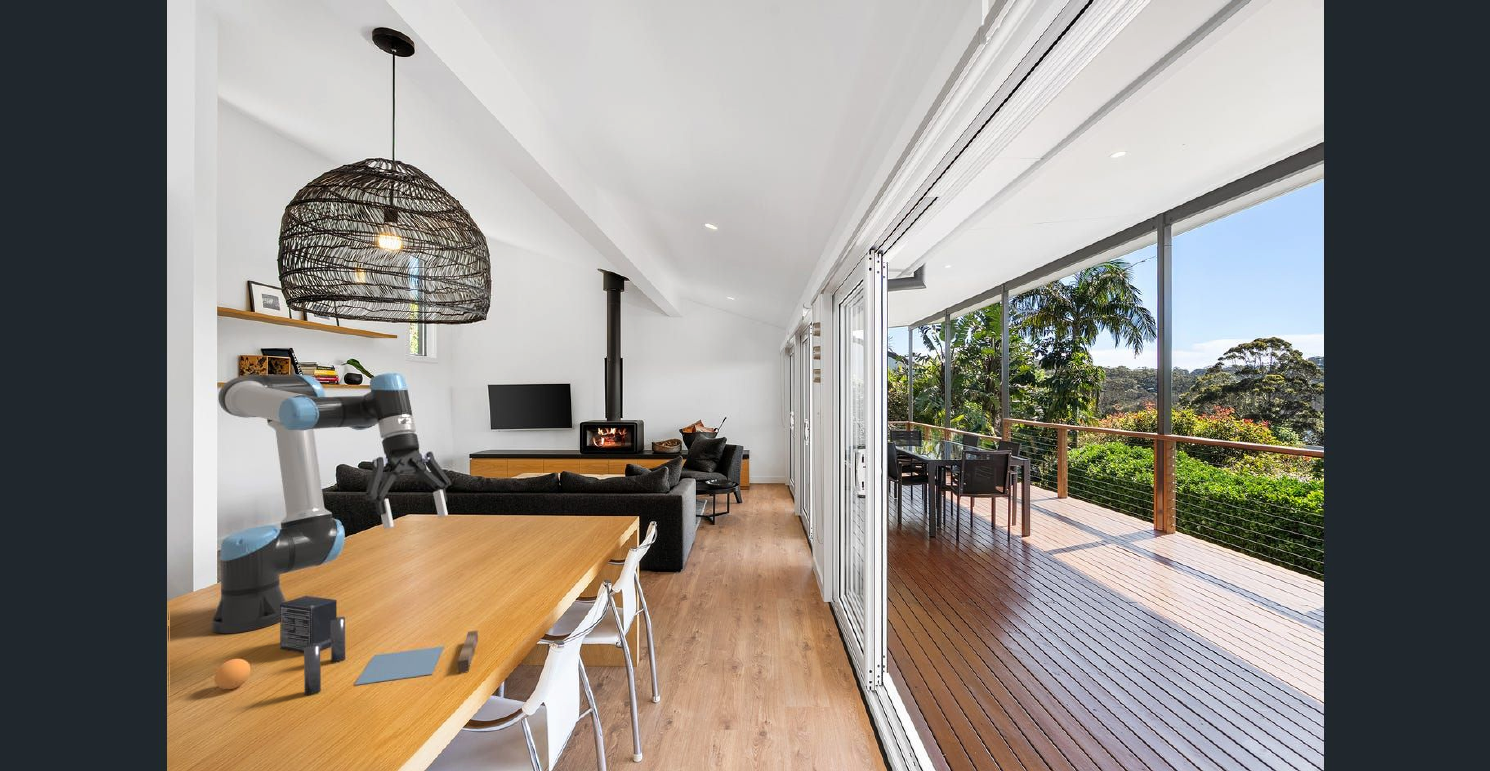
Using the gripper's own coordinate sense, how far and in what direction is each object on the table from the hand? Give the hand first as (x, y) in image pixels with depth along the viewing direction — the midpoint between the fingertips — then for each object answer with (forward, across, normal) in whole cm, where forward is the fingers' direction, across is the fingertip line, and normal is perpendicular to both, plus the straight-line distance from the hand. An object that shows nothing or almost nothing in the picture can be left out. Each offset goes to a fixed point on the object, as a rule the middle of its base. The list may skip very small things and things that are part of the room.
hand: (417, 522), depth 144 cm
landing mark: (+29, -10, -1) cm, 31 cm away
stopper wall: (+32, -1, -10) cm, 34 cm away
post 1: (+28, -26, +3) cm, 38 cm away
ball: (+20, -32, +18) cm, 42 cm away
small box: (+20, -14, +27) cm, 36 cm away
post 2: (+25, -15, +13) cm, 32 cm away
